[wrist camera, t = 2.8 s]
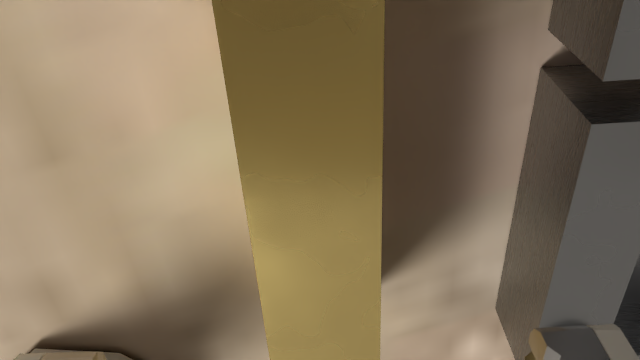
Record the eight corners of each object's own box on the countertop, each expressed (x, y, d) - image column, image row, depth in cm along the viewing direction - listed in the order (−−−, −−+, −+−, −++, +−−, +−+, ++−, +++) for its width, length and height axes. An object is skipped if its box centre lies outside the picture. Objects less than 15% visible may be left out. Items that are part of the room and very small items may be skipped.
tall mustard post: (236, -87, 12) (207, -24, 8) (354, -94, 12) (384, -36, 8) (284, 297, 19) (282, 435, 15) (360, 292, 19) (378, 429, 15)
